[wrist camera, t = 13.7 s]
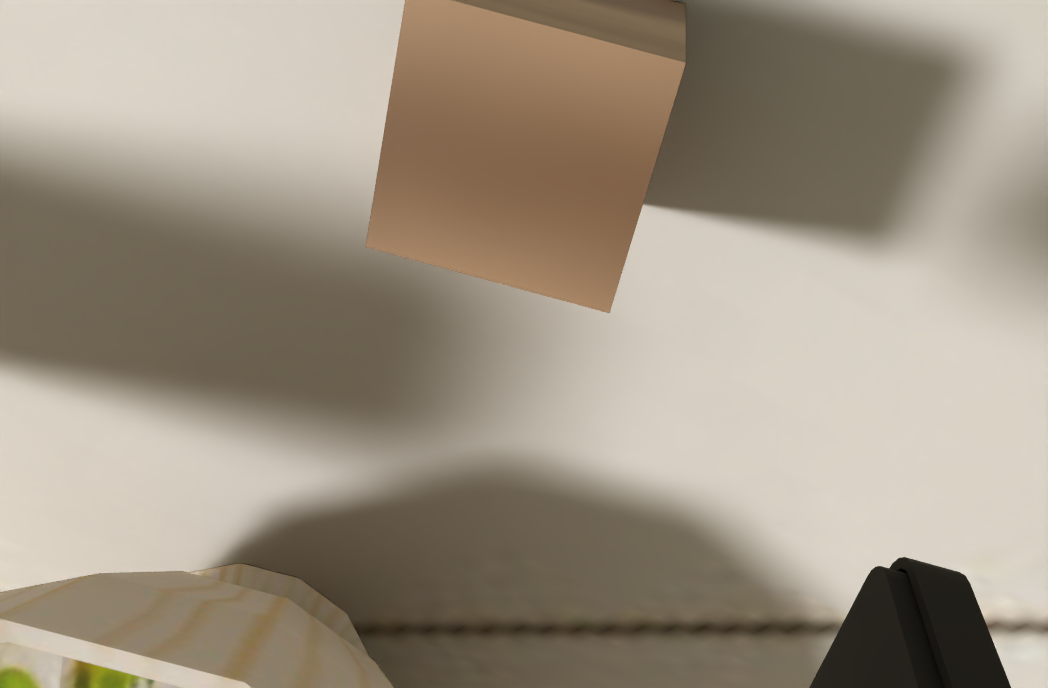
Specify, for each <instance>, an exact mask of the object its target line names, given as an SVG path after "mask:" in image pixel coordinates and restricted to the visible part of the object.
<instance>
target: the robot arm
mask: <svg viewBox="0 0 1048 688" xmlns="http://www.w3.org/2000/svg"><path fill="white" fill-rule="evenodd" d="M810 688H1011V686H1010V684H1009V681H1008V679H1007V676H1006V674H1005V671H1004V668H1003V666H1002V663H1001V661H1000V658H999V656H998V653H997V651H996V648H995V646H994V643H993V641H992V638H991V636H990V633H989V630H988V628H987V625H986V623H985V620H984V618H983V615H982V613H981V610H980V608H979V605H978V603H977V600H976V598H975V595H974V592H973V590H972V587H971V585H970V583H969V581H968V579H967V578H966V576H965V575H963V574H961V573H960V572H957V571H953V570H949V569H946V568H942V567H938V566H935V565H931V564H928V563H924V562H920V561H917V560H913V559H909V558H906V557H903V558H898V559H897V560H896V561H895V562H894V563H893V564H892V565H891V567H890V568H885V567H881V566H878V567H875V568H874V569H873V570H871V572H870V573H869V575H868V576H867V578H866V580H865V582H864V584H863V586H862V588H861V590H860V592H859V594H858V595H857V597H856V599H855V601H854V603H853V605H852V607H851V609H850V611H849V613H848V615H847V617H846V619H845V620H844V622H843V624H842V626H841V628H840V630H839V632H838V634H837V636H836V638H835V640H834V642H833V644H832V645H831V647H830V649H829V651H828V653H827V655H826V657H825V659H824V661H823V663H822V665H821V667H820V669H819V670H818V672H817V674H816V676H815V678H814V680H813V682H812V684H811V686H810Z"/></svg>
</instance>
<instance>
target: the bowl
mask: <svg viewBox="0 0 1048 688" xmlns="http://www.w3.org/2000/svg"><path fill="white" fill-rule="evenodd" d="M0 688H394V687H393V685H392V684H391V683H390V681H389V680H388V679H387V677H386V676H385V675H384V673H383V672H382V671H381V669H380V668H379V667H378V665H377V664H376V663H375V661H373V660H372V659H371V658H370V657H369V655H368V653H367V651H366V649H365V647H364V646H363V644H362V642H361V640H360V638H359V636H358V634H357V632H356V630H355V628H354V626H353V624H352V622H351V620H350V619H349V617H348V615H347V613H346V612H344V611H343V610H341V609H340V608H339V607H337V606H336V605H335V604H333V603H332V602H331V601H329V600H328V599H327V598H325V597H324V596H322V595H321V594H320V593H318V592H317V591H316V590H314V589H313V588H312V587H310V586H309V585H308V584H306V583H305V582H303V581H302V580H301V579H299V578H296V577H292V576H288V575H285V574H281V573H277V572H273V571H269V570H265V569H261V568H257V567H253V566H250V565H246V564H242V563H238V564H233V565H227V566H222V567H216V568H211V569H206V570H200V571H195V572H189V573H188V572H184V571H166V572H132V573H99V574H93V575H88V576H83V577H78V578H72V579H67V580H62V581H56V582H51V583H46V584H41V585H35V586H30V587H25V588H20V589H14V590H9V591H4V592H0Z"/></svg>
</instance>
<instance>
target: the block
mask: <svg viewBox="0 0 1048 688" xmlns="http://www.w3.org/2000/svg"><path fill="white" fill-rule="evenodd" d="M685 64H686V21H685V4H684V3H680V2H677V1H673V0H405V5H404V11H403V17H402V23H401V30H400V36H399V42H398V48H397V54H396V61H395V67H394V73H393V79H392V86H391V92H390V98H389V104H388V111H387V117H386V123H385V129H384V135H383V142H382V148H381V154H380V160H379V167H378V173H377V179H376V185H375V192H374V198H373V204H372V210H371V216H370V223H369V229H368V235H367V241H366V247H368V248H372V249H376V250H379V251H383V252H387V253H390V254H394V255H398V256H401V257H405V258H409V259H412V260H416V261H420V262H423V263H427V264H431V265H434V266H438V267H442V268H445V269H449V270H453V271H456V272H460V273H464V274H467V275H471V276H475V277H478V278H482V279H486V280H490V281H493V282H497V283H501V284H504V285H508V286H512V287H515V288H519V289H523V290H526V291H530V292H534V293H537V294H541V295H545V296H548V297H552V298H556V299H559V300H563V301H567V302H570V303H574V304H578V305H581V306H585V307H589V308H592V309H596V310H600V311H603V312H607V313H610V310H611V306H612V303H613V300H614V296H615V293H616V290H617V287H618V283H619V280H620V277H621V274H622V270H623V267H624V264H625V261H626V257H627V254H628V251H629V247H630V244H631V241H632V238H633V234H634V231H635V228H636V225H637V221H638V218H639V215H640V212H641V208H642V205H643V202H644V198H645V195H646V192H647V189H648V185H649V182H650V179H651V176H652V172H653V169H654V166H655V162H656V159H657V156H658V153H659V149H660V146H661V143H662V140H663V136H664V133H665V130H666V127H667V123H668V120H669V117H670V113H671V110H672V107H673V104H674V100H675V97H676V94H677V91H678V87H679V84H680V81H681V78H682V74H683V71H684V68H685Z"/></svg>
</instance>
